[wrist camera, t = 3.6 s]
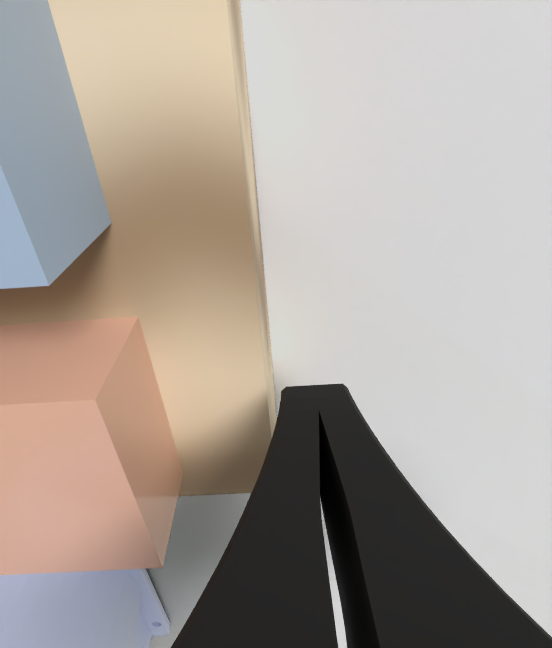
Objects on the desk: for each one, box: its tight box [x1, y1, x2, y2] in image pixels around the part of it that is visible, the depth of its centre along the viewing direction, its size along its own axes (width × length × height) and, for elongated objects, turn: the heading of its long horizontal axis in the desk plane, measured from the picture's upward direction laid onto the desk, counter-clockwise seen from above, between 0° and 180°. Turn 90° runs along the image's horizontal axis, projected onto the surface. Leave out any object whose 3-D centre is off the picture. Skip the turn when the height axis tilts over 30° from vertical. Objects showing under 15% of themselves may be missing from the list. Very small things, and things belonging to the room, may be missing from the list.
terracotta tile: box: [0, 317, 183, 575], centre depth 9 cm, size 5×5×2 cm
